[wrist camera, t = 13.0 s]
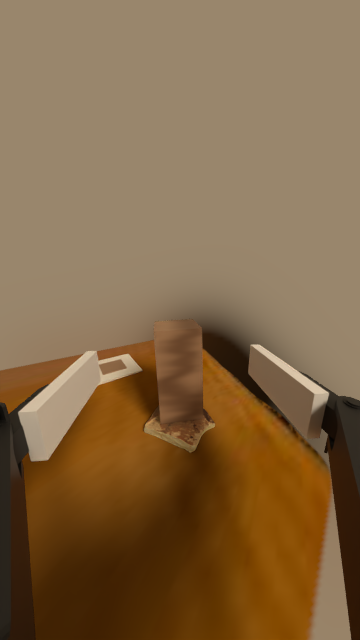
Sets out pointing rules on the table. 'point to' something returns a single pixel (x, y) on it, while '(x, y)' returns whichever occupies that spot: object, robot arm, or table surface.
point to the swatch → (117, 368)
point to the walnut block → (179, 370)
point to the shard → (179, 430)
